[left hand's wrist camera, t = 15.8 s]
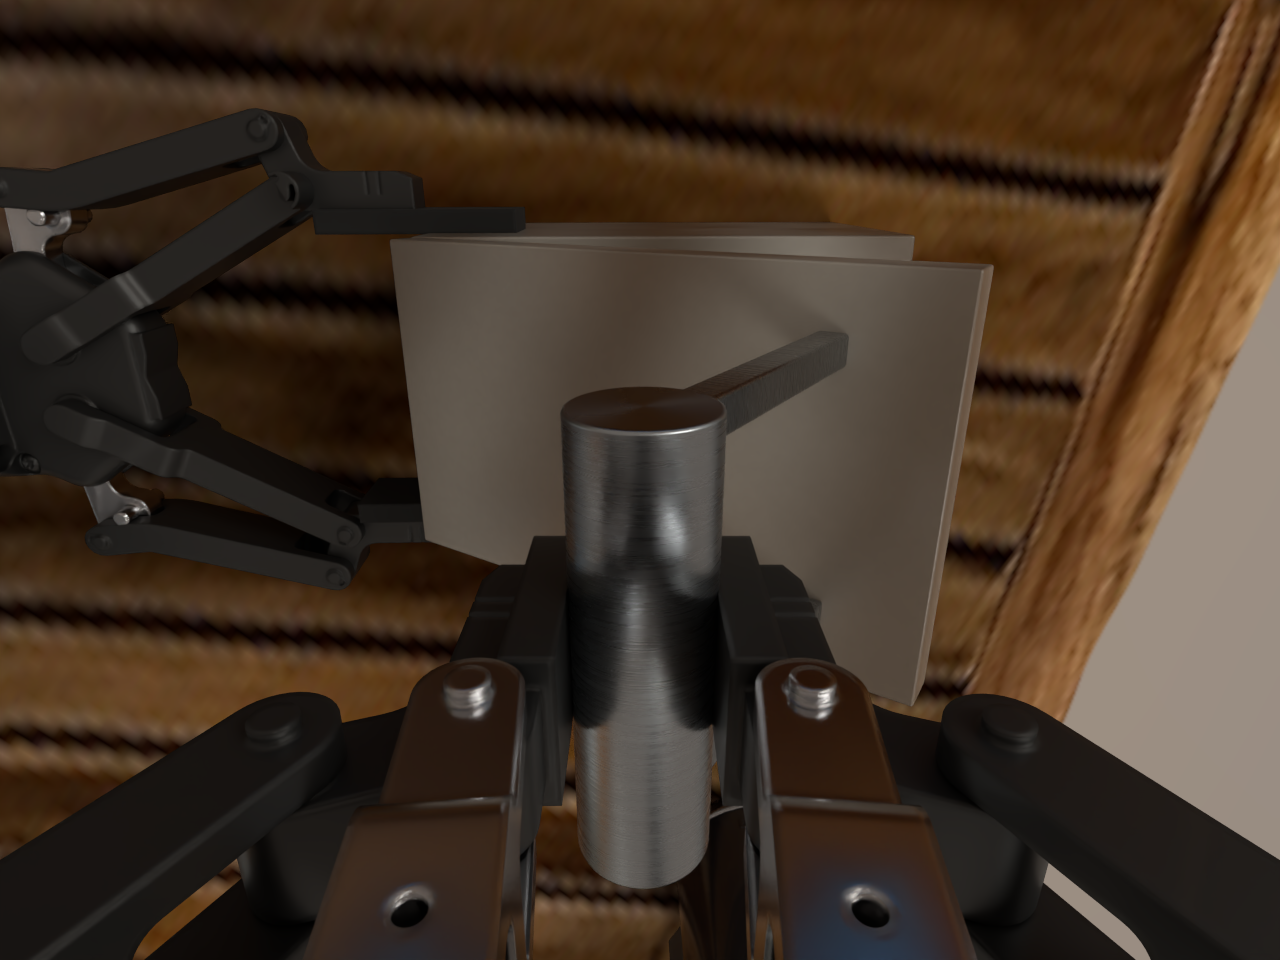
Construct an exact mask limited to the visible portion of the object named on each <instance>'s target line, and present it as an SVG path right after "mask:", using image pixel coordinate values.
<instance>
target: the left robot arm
mask: <svg viewBox="0 0 1280 960" xmlns="http://www.w3.org/2000/svg"><path fill="white" fill-rule="evenodd" d="M572 721H573V699H572V675H571V651H570V628H569V604H568V584H567V562H566V539H565V536H534V537H533V540H532V543H531V546H530V549H529V553H528V556H527V559H526V562H525V564H501V565H500V566H499V567H498V568H496V569H495V570H494V571H493V572H492V573H490V574H489V575H488V576H487V577H486V578H484V579H483V580H482V582H481V585H480V587H479V590H478V592H477V595H476V597H475V602H473V605H472V607H471V610H470V612H469V617H467V620H466V622H465V625H464V627H463V630H462V632H461V635H460V637H459V640H458V642H457V644H456V647H455V649H454V652H453V654H452V657H451V659H450V662H449V663H447V664H444V665H442V666H440V667H437V668H436V669H434V670H432V671H430V672H429V673H428V674H426V675H425V676H423V677H422V678H421V679H420V680H419V681H418V682H417V684H416V685H415V687H414V688H413V690H412V693H411V695H410V698H409V702H408V705H407V706H406V707H404V708H401V709H399V710H396V711H393V712H389V713H385V714H382V715H377V716H372V717H368V718H363V719H358V720H354V721H349V722H344V723H342V720H341V715H340V710H339V708H338V706H337V704H336V703H335V702H334V701H333V700H331V699H330V698H328V697H326V696H323V695H320V694H317V693H310V692H292V693H285V694H279V695H275V696H271V697H267V698H265V699H262V700H259V701H256V702H254V703H252V704H250V705H247V706H246V707H244V708H242V709H240V710H238V711H237V712H235V713H233V714H232V715H230V716H229V717H227V718H226V719H224V720H222V721H221V722H219V723H218V724H216V725H214V726H213V727H211V728H210V729H208V730H206V731H205V732H203V733H202V734H200V735H198V736H197V737H195V738H194V739H192V740H191V741H189V742H187V743H186V744H184V745H183V746H181V747H179V748H178V749H176V750H175V751H173V752H171V753H170V754H168V755H167V756H165V757H163V758H162V759H160V760H159V761H157V762H156V763H154V764H152V765H151V766H149V767H148V768H146V769H144V770H143V771H141V772H140V773H138V774H136V775H135V776H133V777H132V778H130V779H128V780H127V781H125V782H124V783H122V784H121V785H119V786H117V787H116V788H114V789H113V790H111V791H109V792H108V793H106V794H105V795H103V796H101V797H100V798H98V799H97V800H95V801H93V802H92V803H90V804H89V805H87V806H86V807H84V808H82V809H81V810H79V811H78V812H76V813H74V814H73V815H71V816H70V817H68V818H66V819H65V820H63V821H62V822H60V823H58V824H57V825H55V826H54V827H52V828H51V829H49V830H47V831H46V832H44V833H43V834H41V835H39V836H38V837H36V838H35V839H33V840H31V841H30V842H28V843H27V844H25V845H23V846H22V847H20V848H19V849H17V850H16V851H14V852H12V853H11V854H9V855H8V856H6V857H4V858H3V859H1V860H0V960H132V959H133V957H134V954H135V952H136V950H137V948H138V946H139V945H140V943H141V941H142V940H143V938H144V937H145V936H146V935H147V933H148V932H149V931H150V930H151V929H152V928H153V927H154V925H155V924H157V923H158V922H159V921H160V920H161V919H162V918H163V917H165V916H166V915H167V914H168V913H170V912H171V911H172V910H173V909H175V908H176V907H177V906H178V905H179V904H181V903H182V902H183V901H184V900H186V899H187V898H188V897H189V896H191V895H192V894H193V893H194V892H196V891H197V890H198V889H199V888H201V887H202V886H203V885H204V884H206V883H207V882H208V881H209V880H211V879H212V878H213V877H214V876H215V875H217V874H218V873H219V872H220V871H222V870H223V869H224V868H225V867H227V866H228V865H229V864H230V863H232V862H233V861H234V860H235V859H237V861H238V864H239V868H240V872H241V876H242V879H241V880H239V881H238V882H237V883H236V884H235V885H233V886H232V887H231V888H230V889H229V890H227V891H226V892H225V893H224V894H223V895H221V896H220V897H219V898H218V899H217V900H215V901H214V902H213V903H212V904H211V905H209V906H208V907H207V908H206V909H205V910H203V911H202V912H201V913H200V914H199V915H197V916H196V917H195V918H194V919H193V920H191V921H190V922H189V923H188V924H187V925H185V926H184V927H183V928H182V929H181V930H179V931H178V932H177V933H176V934H175V935H173V936H172V937H171V938H170V939H169V940H167V941H166V942H165V943H164V944H163V945H161V946H160V947H159V948H158V949H157V950H156V951H154V952H153V953H152V954H151V955H150V956H148V957H147V958H146V959H145V960H533V935H534V909H535V882H536V856H537V853H536V839H535V837H536V835H537V832H538V828H539V824H540V817H541V811H542V806H562V801H563V793H564V785H565V777H566V769H567V761H568V753H569V745H570V737H571V729H572ZM712 727H713V735H714V742H715V750H716V757H717V765H718V772H719V780H720V787H721V795H722V801H721V802H719V803H716V804H714V805H712V806H710V821H709V841H708V846H707V849H706V852H705V854H704V856H703V858H702V860H701V861H700V862H699V864H698V865H697V866H696V868H695V869H694V870H692V871H691V872H690V873H689V874H688V875H686V876H685V877H684V878H682V879H680V880H678V881H677V888H678V900H679V912H680V927H679V928H678V930H677V931H676V932H675V933H674V935H673V936H672V937H671V939H670V940H669V952H670V960H1135V959H1134V958H1133V957H1132V956H1130V955H1129V954H1128V953H1127V952H1126V951H1125V950H1123V949H1122V948H1121V947H1120V946H1118V945H1117V944H1116V943H1115V942H1114V941H1113V940H1111V939H1110V938H1109V937H1108V936H1107V935H1105V934H1104V933H1103V932H1102V931H1101V930H1099V929H1098V928H1097V927H1096V926H1095V925H1093V924H1092V923H1091V922H1090V921H1089V920H1087V919H1086V918H1085V917H1084V916H1083V915H1081V914H1080V913H1079V912H1078V911H1076V910H1075V909H1074V908H1073V907H1072V906H1071V905H1069V904H1068V903H1067V902H1066V901H1065V900H1063V899H1062V898H1061V897H1060V896H1059V895H1057V894H1056V893H1055V892H1054V891H1053V890H1051V889H1050V888H1049V887H1048V886H1047V885H1045V884H1044V883H1043V881H1044V877H1045V874H1046V870H1047V866H1048V863H1050V864H1051V865H1052V866H1053V867H1055V868H1056V869H1057V870H1058V871H1060V872H1061V873H1062V874H1063V875H1065V876H1066V877H1067V878H1068V879H1069V880H1071V881H1072V882H1073V883H1074V884H1076V885H1077V886H1078V887H1079V888H1081V889H1082V890H1083V891H1084V892H1086V893H1087V894H1088V895H1089V896H1091V897H1092V898H1093V899H1094V900H1096V901H1097V902H1098V903H1099V904H1101V905H1102V906H1103V907H1104V908H1105V909H1107V910H1108V911H1109V912H1110V913H1112V914H1113V915H1114V916H1115V917H1117V918H1118V919H1119V920H1120V921H1122V922H1123V923H1124V924H1125V925H1126V926H1127V927H1128V928H1129V929H1130V930H1131V931H1132V932H1133V933H1134V934H1135V935H1136V936H1137V938H1138V939H1139V940H1140V941H1141V943H1142V944H1143V946H1144V947H1145V949H1146V951H1147V953H1148V955H1149V957H1150V959H1151V960H1280V860H1279V859H1277V858H1276V857H1274V856H1272V855H1271V854H1269V853H1268V852H1266V851H1264V850H1263V849H1261V848H1260V847H1258V846H1257V845H1255V844H1253V843H1252V842H1250V841H1249V840H1247V839H1245V838H1244V837H1242V836H1241V835H1239V834H1237V833H1236V832H1234V831H1233V830H1231V829H1229V828H1228V827H1226V826H1225V825H1223V824H1222V823H1220V822H1218V821H1217V820H1215V819H1214V818H1212V817H1210V816H1209V815H1207V814H1206V813H1204V812H1202V811H1201V810H1199V809H1198V808H1196V807H1194V806H1193V805H1191V804H1190V803H1188V802H1186V801H1185V800H1183V799H1182V798H1180V797H1179V796H1177V795H1175V794H1174V793H1172V792H1171V791H1169V790H1167V789H1166V788H1164V787H1163V786H1161V785H1159V784H1158V783H1156V782H1155V781H1153V780H1152V779H1150V778H1148V777H1147V776H1145V775H1144V774H1142V773H1140V772H1139V771H1137V770H1136V769H1134V768H1132V767H1131V766H1129V765H1128V764H1126V763H1124V762H1123V761H1121V760H1120V759H1118V758H1116V757H1115V756H1113V755H1112V754H1110V753H1109V752H1107V751H1105V750H1104V749H1102V748H1101V747H1099V746H1097V745H1096V744H1094V743H1093V742H1091V741H1089V740H1088V739H1086V738H1085V737H1083V736H1082V735H1080V734H1078V733H1077V732H1075V731H1074V730H1072V729H1070V728H1069V727H1067V726H1066V725H1064V724H1062V723H1061V722H1059V721H1058V720H1056V719H1054V718H1053V717H1051V716H1050V715H1048V714H1047V713H1045V712H1043V711H1041V710H1039V709H1038V708H1036V707H1034V706H1031V705H1029V704H1027V703H1024V702H1022V701H1019V700H1016V699H1013V698H1009V697H1005V696H999V695H994V694H971V695H965V696H962V697H959V698H956V699H954V700H953V701H951V702H950V703H949V704H948V705H947V706H946V707H945V709H944V711H943V715H942V720H941V723H940V722H935V721H930V720H926V719H921V718H916V717H912V716H907V715H903V714H899V713H895V712H892V711H889V710H886V709H883V708H881V707H879V706H876V705H874V704H872V701H871V698H870V695H869V692H868V690H867V688H866V686H865V685H864V684H863V682H862V681H861V680H860V679H859V678H858V677H857V676H855V675H854V674H853V673H851V672H850V671H848V670H846V669H845V668H843V667H841V666H838V665H836V662H835V660H834V657H833V655H832V652H831V650H830V648H829V645H828V643H827V640H826V638H825V635H824V633H823V631H822V628H821V626H820V623H819V621H818V618H817V617H815V611H814V609H813V606H812V604H811V602H809V597H808V594H807V592H806V589H805V587H804V584H803V582H802V580H801V579H800V578H798V577H797V576H796V575H795V574H793V573H792V572H791V571H790V570H789V569H787V568H786V567H785V566H784V565H759V562H758V559H757V556H756V552H755V549H754V546H753V543H752V540H751V537H750V536H722V544H721V567H720V587H719V591H718V600H717V623H716V646H715V669H714V692H713V715H712Z"/></svg>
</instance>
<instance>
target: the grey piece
mask: <svg viewBox="0 0 1280 960" xmlns="http://www.w3.org/2000/svg"><path fill="white" fill-rule="evenodd" d="M390 248H391V256H392V265H393V273H394V281H395V290H396V298H397V306H398V315H399V323H400V332H401V340H402V348H403V357H404V365H405V373H406V382H407V390H408V398H409V407H410V415H411V423H412V432H413V440H414V448H415V457H416V465H417V474H418V482H419V490H420V499H421V507H422V515H423V524H424V532H425V539H426V540H428V541H431V542H434V543H436V544H439V545H442V546H445V547H448V548H451V549H454V550H457V551H460V552H463V553H466V554H468V555H471V556H474V557H477V558H480V559H483V560H486V561H489V562H492V563H495V564H498V565H501V564H525V562H526V559H527V556H528V553H529V549H530V546H531V543H532V540H533V537H534V536H565V539H566V562H567V584H568V604H569V628H570V651H571V675H572V699H573V726H574V750H575V773H576V797H577V820H578V839H579V845H580V849H581V851H582V854H583V856H584V857H585V859H586V861H587V862H588V863H589V865H590V866H591V867H592V868H593V869H594V870H595V871H596V872H597V873H598V874H599V875H601V876H602V877H604V878H605V879H607V880H609V881H611V882H613V883H615V884H618V885H621V886H625V887H629V888H637V889H651V888H659V887H663V886H667V885H669V884H672V883H675V882H677V881H678V880H680V879H682V878H684V877H685V876H686V875H688V874H689V873H690V872H691V871H692V870H694V869H695V868H696V866H697V865H698V864H699V862H700V861H701V860H702V858H703V856H704V854H705V852H706V849H707V846H708V841H709V821H710V798H711V775H712V767H713V765H714V764H715V763H716V761H717V757H716V750H715V742H714V735H713V727H712V715H713V692H714V669H715V646H716V623H717V600H718V591H719V587H720V567H721V544H722V536H750V537H751V540H752V543H753V546H754V549H755V552H756V556H757V559H758V562H759V565H784V566H785V567H786V568H787V569H789V570H790V571H791V572H792V573H793V574H795V575H796V576H797V577H798V578H800V579H801V580H802V582H803V584H804V587H805V589H806V592H807V594H808V597H809V602H811V604H812V606H813V609H814V611H815V617H817V618H818V621H819V623H820V626H821V628H822V631H823V633H824V635H825V638H826V640H827V643H828V645H829V648H830V650H831V652H832V655H833V657H834V660H835V662H836V665H838V666H841V667H843V668H845V669H846V670H848V671H850V672H851V673H853V674H854V675H855V676H857V677H858V678H859V679H860V680H861V681H862V682H863V684H864V685H865V686H866V688H867V690H868V692H871V693H873V694H876V695H879V696H882V697H885V698H888V699H891V700H894V701H897V702H900V703H903V704H905V705H908V706H913V704H914V702H915V700H916V698H917V696H918V694H919V692H920V689H921V687H922V685H923V683H924V679H925V673H926V667H927V662H928V656H929V650H930V644H931V638H932V632H933V626H934V620H935V614H936V608H937V602H938V596H939V590H940V584H941V578H942V572H943V566H944V560H945V554H946V548H947V542H948V536H949V530H950V524H951V518H952V513H953V507H954V501H955V495H956V489H957V483H958V477H959V471H960V465H961V459H962V453H963V447H964V441H965V435H966V429H967V423H968V417H969V411H970V405H971V399H972V393H973V387H974V381H975V375H976V369H977V364H978V358H979V352H980V346H981V340H982V334H983V328H984V322H985V316H986V310H987V304H988V298H989V292H990V286H991V280H992V274H993V268H994V267H993V265H990V264H969V263H948V262H927V261H906V260H885V259H864V258H842V257H821V256H800V255H779V254H758V253H737V252H716V251H694V250H673V249H652V248H631V247H610V246H589V245H568V244H546V243H525V242H504V241H483V240H462V239H441V238H420V237H418V238H403V239H391V240H390Z"/></svg>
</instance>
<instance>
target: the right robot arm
mask: <svg viewBox="0 0 1280 960" xmlns="http://www.w3.org/2000/svg"><path fill="white" fill-rule="evenodd" d="M307 139H308V135H307V131H306V128H305V127H304V125H303V123H302V122H301V121H299V120H298V119H297V118H296V117H293V116H290V115H286V114H281V113H276V112H272V111H267V110H263V109H258V108H254V109H247V110H244V111H241V112H238V113H235V114H231V115H228V116H225V117H222V118H218V119H215V120H212V121H209V122H206V123H202V124H199V125H196V126H193V127H190V128H186V129H183V130H180V131H177V132H173V133H170V134H167V135H164V136H161V137H157V138H154V139H151V140H148V141H144V142H141V143H138V144H135V145H132V146H128V147H125V148H122V149H119V150H116V151H112V152H109V153H106V154H103V155H99V156H96V157H93V158H90V159H87V160H83V161H80V162H77V163H74V164H70V165H67V166H64V167H61V168H58V169H47V168H16V167H0V207H2V208H5V212H6V217H7V222H8V226H9V231H10V235H11V240H12V245H13V249H14V252H13V253H11V254H8V255H6V256H5V257H3V258H2V259H1V260H0V476H25V475H50V476H54V477H58V478H60V479H63V480H65V481H67V482H70V483H72V484H75V485H78V486H84V488H85V491H86V493H87V496H88V498H89V501H90V503H91V506H92V508H93V511H94V514H95V516H96V519H97V521H98V524H97V525H95V526H94V527H92V528H91V529H90V530H88V531H87V532H86V535H85V541H86V544H87V546H88V547H89V548H90V549H91V550H92V551H93V552H94V553H97V554H99V555H106V556H108V555H119V554H130V553H141V552H155V553H160V554H165V555H169V556H174V557H179V558H184V559H189V560H193V561H198V562H203V563H208V564H212V565H217V566H222V567H227V568H232V569H236V570H241V571H246V572H251V573H256V574H260V575H265V576H270V577H275V578H280V579H284V580H289V581H294V582H299V583H303V584H308V585H313V586H318V587H323V588H327V589H332V590H341V589H344V588H346V587H347V586H348V585H349V584H350V583H351V581H352V580H353V578H354V577H355V575H356V574H357V572H358V571H359V569H360V568H361V566H362V565H363V563H364V562H365V560H366V559H367V557H368V555H369V553H370V547H369V545H370V544H373V543H410V542H431V541H428V540H426V539H425V532H424V524H423V515H422V507H421V499H420V490H419V482H418V478H379V479H378V480H377V481H376V482H375V484H374V485H373V486H372V487H371V489H370V490H369V491H368V492H367V493H366V495H365V494H363V493H361V492H358V491H356V490H354V489H352V488H350V487H347V486H345V485H343V484H341V483H339V482H336V481H334V480H332V479H330V478H328V477H325V476H323V475H321V474H319V473H317V472H314V471H312V470H310V469H308V468H306V467H303V466H301V465H299V464H297V463H295V462H293V461H290V460H288V459H286V458H284V457H282V456H279V455H277V454H275V453H273V452H271V451H268V450H266V449H264V448H262V447H260V446H257V445H255V444H253V443H251V442H249V441H246V440H244V439H242V438H240V437H238V436H235V435H233V434H231V433H229V432H227V431H225V430H223V429H222V428H221V425H220V423H219V422H218V421H216V420H215V419H213V418H211V417H208V416H206V415H204V414H202V413H200V412H197V411H195V410H193V409H191V408H189V406H191V405H192V402H191V398H190V394H189V389H188V385H187V383H186V381H185V379H184V378H183V376H182V374H181V372H180V370H179V368H178V365H177V356H178V342H177V338H176V333H175V329H174V325H173V324H166V323H165V321H164V319H163V318H162V315H163V314H165V313H166V312H168V311H170V310H171V309H173V308H174V307H176V306H177V305H179V304H181V303H182V302H184V301H185V300H187V299H188V298H190V297H191V296H192V294H193V293H194V292H195V291H197V290H198V289H200V288H201V287H203V286H205V285H206V284H208V283H209V282H211V281H212V280H214V279H216V278H217V277H219V276H220V275H222V274H223V273H225V272H227V271H228V270H230V269H231V268H233V267H234V266H236V265H238V264H239V263H241V262H242V261H244V260H245V259H247V258H249V257H250V256H252V255H253V254H255V253H256V252H258V251H260V250H261V249H263V248H264V247H266V246H267V245H269V244H271V243H272V242H274V241H275V240H277V239H278V238H280V237H282V236H283V235H285V234H286V233H288V232H289V231H291V230H293V229H294V228H296V227H297V226H299V225H300V224H302V223H304V222H305V221H307V220H308V219H310V218H311V217H313V222H314V228H315V234H427V233H517V232H520V231H522V230H524V229H526V224H525V207H425V201H424V191H423V181H422V178H421V177H418V176H416V175H413V174H411V173H408V172H401V171H331V170H328V169H326V168H325V167H323V166H322V165H321V164H320V163H319V162H318V161H317V160H316V158H315V157H314V155H313V153H312V151H311V149H310V147H309V145H308V143H307ZM260 164H262V165H263V167H264V169H265V171H266V173H267V175H268V177H269V179H268V180H267V181H265V182H264V183H262V184H260V185H259V186H257V187H256V188H254V189H253V190H251V191H250V192H248V193H247V194H245V195H244V196H242V197H241V198H239V199H237V200H236V201H234V202H233V203H231V204H230V205H228V206H227V207H225V208H224V209H222V210H221V211H219V212H218V213H216V214H215V215H213V216H211V217H210V218H208V219H207V220H205V221H204V222H202V223H201V224H199V225H198V226H196V227H195V228H193V229H192V230H190V231H189V232H187V233H185V234H184V235H182V236H181V237H179V238H178V239H176V240H175V241H173V242H172V243H170V244H169V245H167V246H166V247H164V248H163V249H161V250H159V251H158V252H156V253H155V254H153V255H152V256H150V257H149V258H147V259H146V260H144V261H143V262H141V263H140V264H138V265H137V266H135V267H133V268H132V269H130V270H128V271H126V272H124V273H121V274H119V275H116V276H114V277H112V278H110V279H108V278H106V277H105V276H103V275H101V274H100V273H98V272H97V271H95V270H93V269H92V268H90V267H88V266H87V265H85V264H83V263H82V262H80V261H79V260H77V259H75V258H74V257H72V256H70V255H69V254H67V253H64V252H63V247H62V245H63V242H64V240H65V239H66V237H67V236H69V235H71V234H75V233H80V232H82V231H84V230H85V228H86V227H87V225H88V223H89V222H91V220H92V216H93V215H92V212H91V210H90V209H107V208H116V207H121V206H125V205H129V204H132V203H135V202H139V201H142V200H145V199H149V198H152V197H155V196H158V195H162V194H165V193H168V192H172V191H175V190H178V189H181V188H185V187H188V186H191V185H194V184H198V183H201V182H204V181H208V180H211V179H214V178H217V177H221V176H224V175H227V174H231V173H234V172H237V171H240V170H244V169H247V168H250V167H254V166H257V165H260ZM169 435H170V436H169ZM168 436H169V437H168ZM133 465H134V466H136V467H139V468H141V469H143V470H145V471H148V472H150V473H152V474H155V475H158V476H161V477H167V478H168V477H179V478H183V479H185V480H188V481H190V482H192V483H195V484H197V485H199V486H201V487H204V488H206V489H208V490H211V491H213V492H215V493H217V494H220V495H222V496H224V497H227V498H229V499H231V500H233V501H236V502H238V503H240V504H243V505H245V506H247V507H249V508H252V509H254V510H256V511H259V512H261V513H263V514H265V515H268V516H270V517H267V516H263V515H258V514H254V513H249V512H244V511H240V510H235V509H231V508H226V507H222V506H217V505H212V504H208V503H203V502H199V501H193V500H187V499H164V494H163V492H162V491H161V490H159V489H152V490H149V489H145V488H138V487H136V486H134V485H132V484H131V483H129V482H128V480H127V479H126V478H125V476H124V474H123V473H124V472H125V471H127V470H128V469H129V468H130V467H132V466H133Z"/></svg>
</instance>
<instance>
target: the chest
mask: <svg viewBox="0 0 1280 960" xmlns="http://www.w3.org/2000/svg"><path fill="white" fill-rule="evenodd" d="M525 224H526V229H524V230H522V231H520V232H517V233H427V234H423V235H419V236H415V237H412V238H418V237H420V238H441V239H462V240H483V241H504V242H525V243H546V244H568V245H589V246H610V247H631V248H652V249H673V250H694V251H716V252H737V253H758V254H779V255H800V256H821V257H842V258H864V259H885V260H906V261H912V256H913V248H914V240H915V237H914V236H913V235H908V234H902V233H895V232H889V231H883V230H877V229H871V228H865V227H858V226H852V225H846V224H840V223H834V222H687V223H525Z"/></svg>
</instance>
